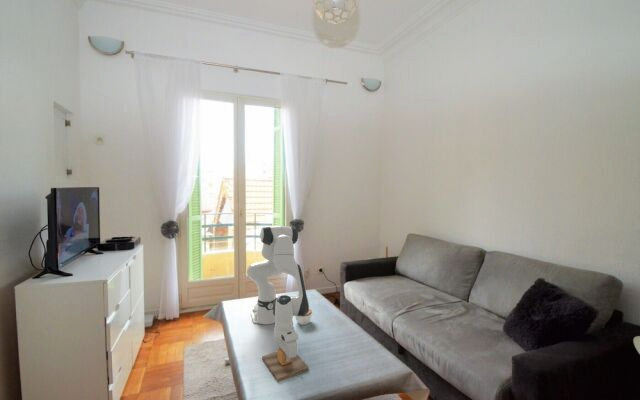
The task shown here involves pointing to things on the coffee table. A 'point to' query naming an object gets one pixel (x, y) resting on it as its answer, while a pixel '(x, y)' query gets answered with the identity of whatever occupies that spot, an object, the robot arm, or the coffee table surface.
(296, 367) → the post block
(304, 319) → the lidded jar
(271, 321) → the robot arm
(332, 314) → the coffee table surface
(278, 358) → the wooden toy cube
